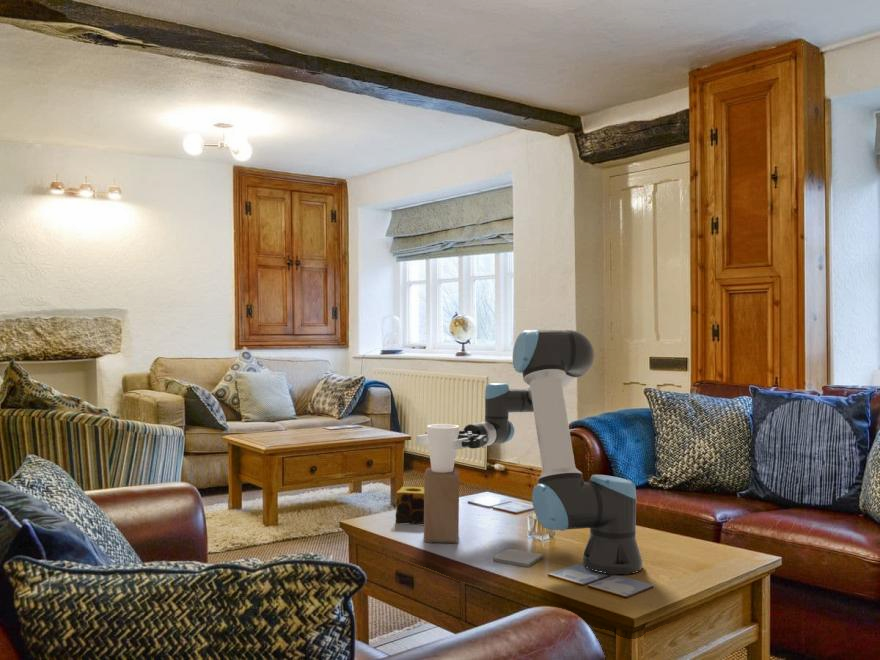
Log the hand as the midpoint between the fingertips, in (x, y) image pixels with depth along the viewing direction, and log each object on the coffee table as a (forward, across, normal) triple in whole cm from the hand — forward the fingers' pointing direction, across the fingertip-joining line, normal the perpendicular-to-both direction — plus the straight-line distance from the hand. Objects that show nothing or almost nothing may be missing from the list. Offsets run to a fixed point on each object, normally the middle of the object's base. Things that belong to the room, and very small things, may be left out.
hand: (435, 442), depth 223 cm
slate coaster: (-1, -28, -28) cm, 40 cm away
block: (-3, 0, -29) cm, 29 cm away
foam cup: (-3, 0, -9) cm, 9 cm away
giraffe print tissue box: (-14, +20, -29) cm, 38 cm away
